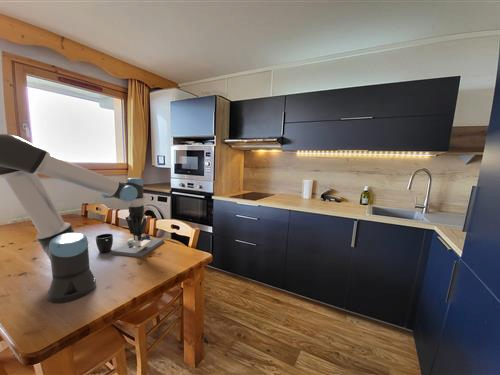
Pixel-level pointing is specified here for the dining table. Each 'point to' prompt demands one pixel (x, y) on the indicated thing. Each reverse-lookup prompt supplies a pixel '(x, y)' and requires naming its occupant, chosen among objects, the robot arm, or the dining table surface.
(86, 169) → the robot arm
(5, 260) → the dining table surface
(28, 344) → the dining table surface
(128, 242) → the button
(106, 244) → the mug
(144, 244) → the rocker
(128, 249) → the panel
